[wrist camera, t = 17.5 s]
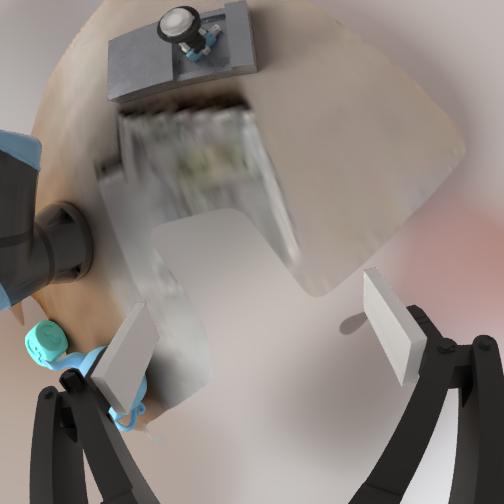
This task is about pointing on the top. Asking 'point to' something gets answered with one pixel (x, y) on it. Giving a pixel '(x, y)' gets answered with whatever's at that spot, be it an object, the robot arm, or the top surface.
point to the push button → (186, 32)
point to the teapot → (83, 364)
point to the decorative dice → (46, 342)
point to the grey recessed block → (180, 56)
